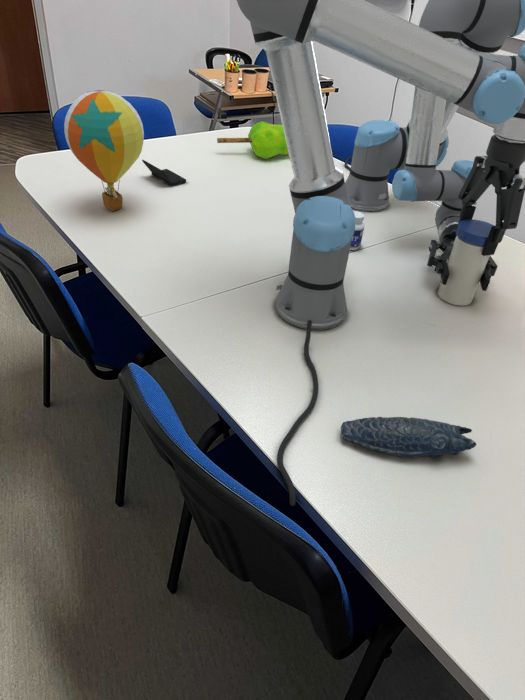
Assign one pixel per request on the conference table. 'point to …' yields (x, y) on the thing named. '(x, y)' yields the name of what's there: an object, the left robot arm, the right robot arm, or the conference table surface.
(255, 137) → the decorative tree
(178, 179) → the black angled piece
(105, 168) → the toy
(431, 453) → the fish model
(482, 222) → the lid
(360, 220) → the pill bottle
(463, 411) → the conference table surface
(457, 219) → the right robot arm
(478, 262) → the jar
